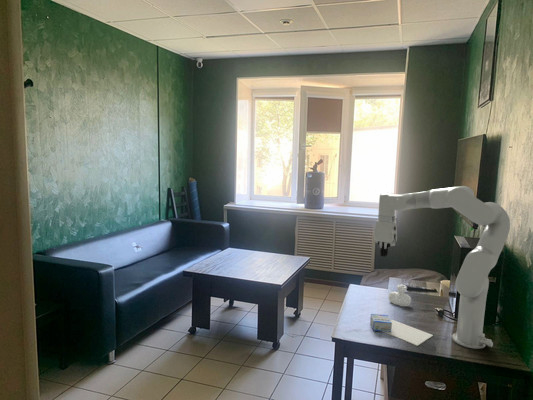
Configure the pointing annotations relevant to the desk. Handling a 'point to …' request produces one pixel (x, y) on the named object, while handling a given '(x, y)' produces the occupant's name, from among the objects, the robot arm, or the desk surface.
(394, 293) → the bust
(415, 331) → the mat
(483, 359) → the desk surface
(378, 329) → the medicine box
